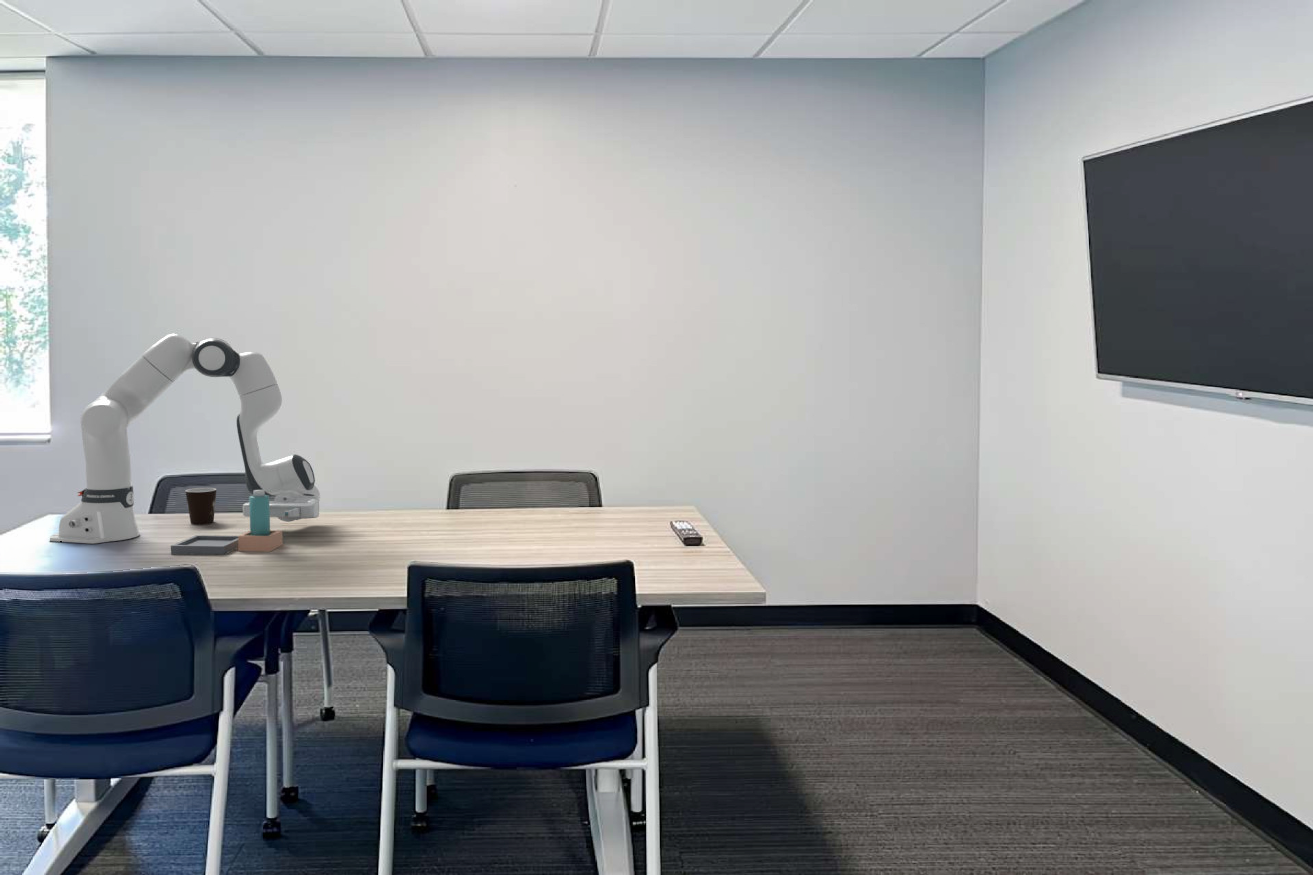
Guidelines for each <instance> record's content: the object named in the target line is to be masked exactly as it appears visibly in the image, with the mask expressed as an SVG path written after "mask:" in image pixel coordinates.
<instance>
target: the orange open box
mask: <svg viewBox="0 0 1313 875" xmlns="http://www.w3.org/2000/svg"><path fill="white" fill-rule="evenodd" d="M237 536H238V548H237V549H238V550H237V551H238V552H272V551H274V550H276V549H278V548H279V547H281V546H283V530H280V529H279V530H275V529H273V530H271V529H270V535H268V536H250V530H249V531H246V532H244V533H242V534H240V535H237ZM275 548H276V549H275Z"/></svg>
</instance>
